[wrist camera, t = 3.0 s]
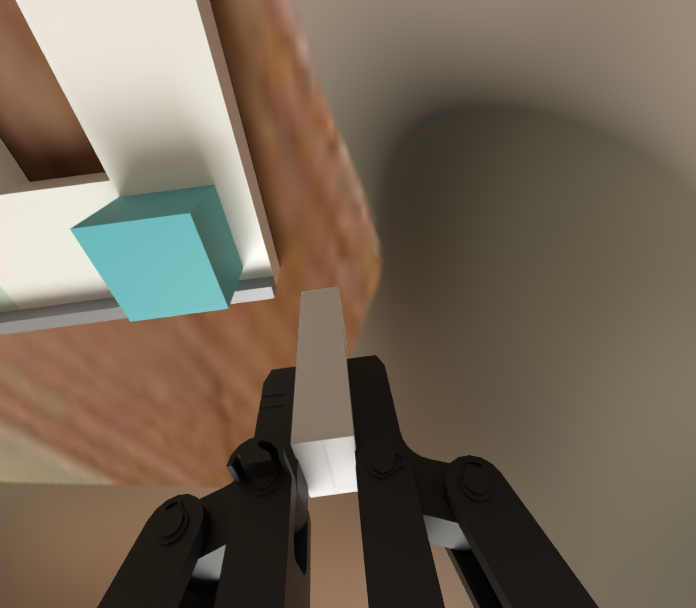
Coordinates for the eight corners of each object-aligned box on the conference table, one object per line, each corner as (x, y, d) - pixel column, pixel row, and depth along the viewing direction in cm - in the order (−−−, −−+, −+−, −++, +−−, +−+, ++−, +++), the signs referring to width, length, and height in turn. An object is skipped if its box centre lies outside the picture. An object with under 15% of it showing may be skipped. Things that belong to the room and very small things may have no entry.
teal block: (118, 197, 20) (69, 228, 16) (214, 184, 20) (189, 213, 16) (161, 278, 24) (130, 321, 20) (243, 267, 24) (228, 308, 20)
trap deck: (-347, 34, 16) (-561, 22, 12) (200, -35, 17) (164, -68, 13) (-52, 312, 27) (-116, 354, 23) (279, 267, 27) (273, 301, 23)
